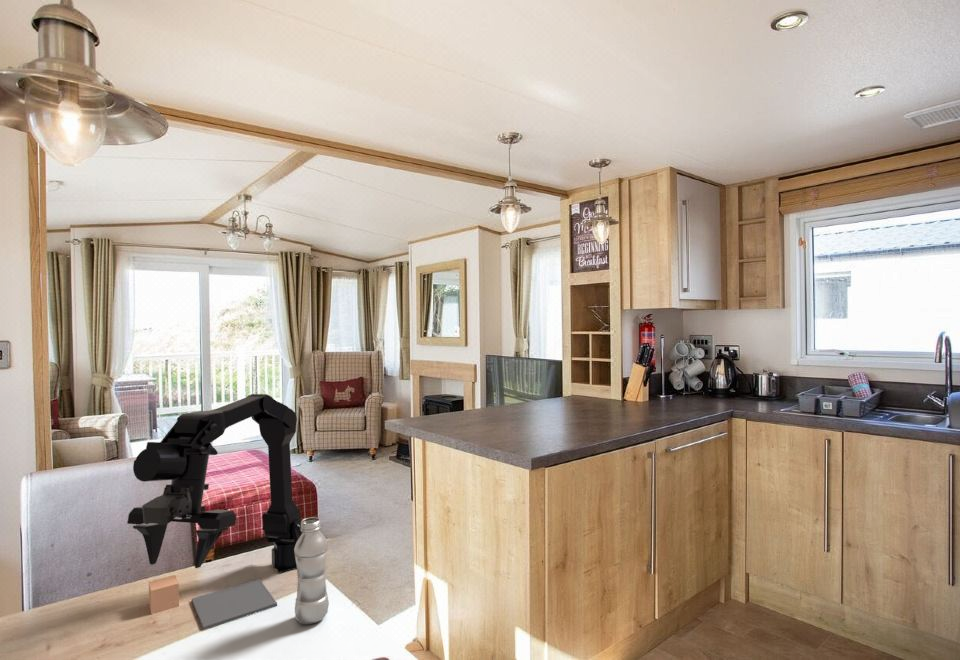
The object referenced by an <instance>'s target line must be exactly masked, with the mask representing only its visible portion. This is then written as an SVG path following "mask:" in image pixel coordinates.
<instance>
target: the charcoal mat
mask: <svg viewBox="0 0 960 660" xmlns="http://www.w3.org/2000/svg"><path fill="white" fill-rule="evenodd" d="M191 603H192V605H193V608H194V610H195V612H196V615H197V618H198V620H199V623H200V625H201V627H202V630H203V631H205V630H209V629H211V628H214V627H218V626H220V625H223V624H226V623H229V622H231V621H232V622H233V621H235V620H238V619H241V618H244V617H247V615H248V616H251V615H253V613H254V614H256V613H255V612H257V613H260V612H263V611H266V610H268V609H269V610H270V609H272V608H275V607H278V602H277V601H276V600H275V598H274V596H273V595H272V594H271V593H270V591H269V590H268V588H267V587H266V585H265V584H264V583H263V581H262V580H261V579H260V578H257V579H254V580H250V581H248V582H244V583H240V584H236V585H233V586H229V587H227V588H223V589H219V590H216V591H212V592H209V593H206V594H202V595H198V596H196V597H192V598H191ZM262 610H263V611H262ZM259 611H260V612H259ZM250 614H251V615H250Z"/></svg>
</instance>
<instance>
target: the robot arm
mask: <svg viewBox="0 0 960 660" xmlns="http://www.w3.org/2000/svg"><path fill="white" fill-rule="evenodd" d="M249 418H251V420H252V421H254V422H255V423H256V424H257V425H258V427H259V434H260V436H261V438H262V439H263V441H264V442H265V444H266V445H267V451H268V452H267V453H268V469H269V470H268V472H269V474H268V475H269V489H270V490H269V491H270V492H269V495H270V505H269V506H268V509H267V511H266V512H263V514H262V517H261V519H262V529H261V530H262V531H263V532H264V536H265V537H266V541H267V542H268V544H269V543H272V544H273V548H272V549H271V566H272V567H273V568H274V569H275V570H276V571H277V572H278V573H279V574H281V573H285V572H288V571H290V570H291V571H292V570H294V569H295V570H296V569H297V565H296V559H295V551H294V548H295V545H296V542H297V541H298V539H299V537H300V536H301V534H302V532H301V521H302V518H301V517H302V516H301V511H300V509H299V507H298V506H297V504H296V503H295V501H294V500H293V486H292V481H293V480H292V463H291V462H292V461H291V442H292V440H293V438H294V437H295V434H296V431H297V421H298V420H297V419H298V417H297V413H296V411H294V410H293V409H292V408H290V407H288V406H287V405H285V404H283V403H281V402H279V401H278V400H275V399H274V397H272V395H269V394H267V393H252V394H250V395H247V396H246V397H244V398H241V399H239V400H235V401H233V402H231V403H228V404H226V405H222V406H219V407H218V408H215V409H210V410H200V411H199V410H198V411H193V412H185V413H181V415H179V416H178V417H177V419H176V422H175V423H174V424H173V426H172V427H170V429H169V431H168V432H167V433H166V434H165V436H164V437H163V438H162V439H161V441H160V442H159V441H147V442H146V445H145V446H146V447H145V449H143V450H142V451H140V453H138V454H137V456H136V459H135V460H134V461H133V465H132V469H133V474H134V476H135V478H136V479H137V480H138V481H141V482H160V481H171V482H170V484H166V485H165V487H164V488H163V494H161V495H158V496H156V497H153V499H151V500H149V501H147V502H146V503H144V504H143V505H141V506H138V507H137V506H136V507H133V509H132V510H130V512H129V513H128V516H127V521H126V523H127V525H128V524H129V525H132V528H133V529H134V530H137V531H138V532H139V533H140V534H141V535H142V537H143V539H144V540H143V541H144V543H145V547H146V552H147V557H148V561H149V565H155V564H156V563H157V561H158V559H159V556H160V553H161V549H162V546H163V543H164V542H163V541H164V538H165V535H166V532H167V528H168V525H169V524H170V523H171V522H176V523H189V524H197V525H198V527H199V528H200V529H197V530H196V529H195V533H196V535H197V538H198V540H197V545H196V546H197V547H196V551H195V552H196V553H195V559H194V560H195V561H194V568H195V569H200V568H201V567H202V565H203V563H204V562H205V560H206V558H207V556H208V555H209V553H210V552H211V550H212V548H213V547H214V545H215V543H216V542H217V541H218V539H219V538H220V536H221V535H222V534H223V532H224V531H228V530H229V528H231V527H234V526H235V527H236V521H237V515H236V513H235V511H234V510H233V509H232V510H229V509H214V510H207V511H206V507H207V506H206V505H202V504H203V498H204V491H206V490H207V491H208V490H209V485H210V484H208V483H206V478H207V477H206V476H207V471H208V464H209V458H210V456H216V455H218V451H217V449H216V448H214V446H213V445H212V442H214V441H216V440H217V439H218V438H220V437H221V436H223V434H225V430H227V428H229V427H232V426H233V425H236V424H238V423H240V422H243V421H245V420H248V419H249Z"/></svg>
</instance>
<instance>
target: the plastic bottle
mask: <svg viewBox="0 0 960 660" xmlns="http://www.w3.org/2000/svg"><path fill="white" fill-rule="evenodd" d="M321 529H322V527H321V519H320V518H319V517H316V516H315V517H313V516H312V517H307V518H304V519H301V532H302V534H301V536H300V537H299V539H298V541H297V542H296V545H295V548H294V551H295V559H296V565H297V568H296V575H297V590H296V598H295V602H294V603H295V604H294V605H295V606H294V615H295V619H296V621H298V622H299V623H300V624H302V625H312V624H315V623H318V622H320V621H322V620H324V618H325V617H326V616H327V614H328V610H329V607H330V606H329V604H330V602H329V596H328V592H327V583H326V582H327V581H326V568H327V567H326V563H327V557H328V541H327V538H326V537H325V535H324V534H323V533H322V532H321V531H320V530H321Z"/></svg>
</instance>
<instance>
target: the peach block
mask: <svg viewBox="0 0 960 660" xmlns="http://www.w3.org/2000/svg"><path fill="white" fill-rule="evenodd" d="M179 585H180V584H179V581H178V579H177V575H176V574H173V575H170V576H166V577H163V578H159V579H155V580H152V581H148V606H149V610H150V614H151V615H154V614H158V613H162V612H164V611H168V610H171V609H175V608H177V607H180V600H179V598H180V597H179V596H180V595H179V594H180V590H179V588H180V587H179Z"/></svg>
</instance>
